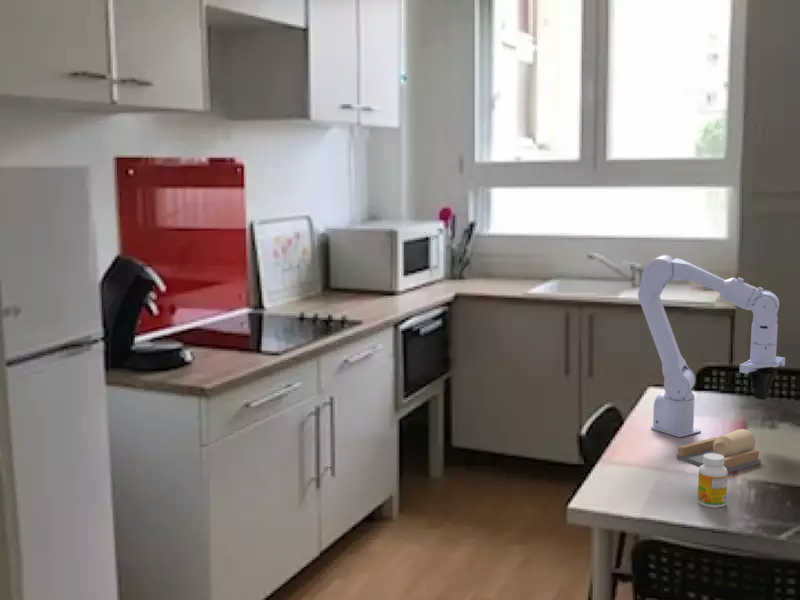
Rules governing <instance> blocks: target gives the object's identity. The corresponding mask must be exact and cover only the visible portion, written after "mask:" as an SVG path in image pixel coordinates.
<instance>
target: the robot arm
mask: <svg viewBox="0 0 800 600" xmlns="http://www.w3.org/2000/svg"><path fill="white" fill-rule="evenodd" d="M671 280H673V282H678V281H684V280H685V281H687V280H688V281H690V282H693V283H696V284H698V285H700V286H703V287H706V288H708V289H710V290H713V291H716V292H718V293H719V295H720V297H721V299H722V300H723V301H726V302H728V303H731V304H733V305H735V306H737V307H739V308H741V309H743V310H746V311H751V313H752V314H753V315H752V323H751V332H750V333H751V334H750V336H751V337H750V354H749V359H748V360H747V361H745V362H743V363H740V364H739V373H742V374H746V375H748V377H749V379H750V381H751V383H752V384H751V385H752V388H753V391H754V396H755V399H758V400H762V401H764V400H766V399H767V398H768V395H769V393H770V392H769V391H770V389H771V386H772V384H773V382H774V380H775V379H776V377H777V375H778V374H779V370H778V369H775V368H777V367H778V368H779V367H785V365H786V357H783V356H777V346H778V345H777V343H778V327H779V326H778V325H779V324H778V320H779V319H778V312H779V307H780V300H779V298H778V296H777V295H776V294H775V293H773V292H772V291H771V290H764V288H763V287H761V286H758V287H757V286H754V285H751V284H749V283H747V282H744V280H745V279H744V278H742V277H737V278H736V277H731V278H728V279H724V278H722V277H719V276H718V275H716V274H713V273H712V272H710V271H708V270H705V269H703V268H701V267H699V266H697V265H694V264H693V263H691V262H688V261H686V260H684V259H680V258H678V257H676V258H674V257H673V256H671V255H669V254H661V255H659V256H657V257H656V258H653V259H652V260H651V261H649V262H648V263H647V265H646V266H645V268H644V269H643V271H642V272H641V280H640V285H639V289H638V292H637V297H638V300H639V303H640V306H641V309H642V313H643V316H644V318H645V321H646V323H647V325H648V329H649V330H650V334H651V337H652V340H653V343H654V346H655V347H656V350H657V353H658V356H659V359H660V361H661V368H662V375H663V378H664V379H663V380H664V381H663V390H664V392H661V393H659V394H658V395H657V396H656V397H655V400H654V401H653V417H652V418H653V421H652V424H653V425H652V426H650V429H652V430H655V431H658V432H661V433H665V434H668V435H671V436H675V437H677V438H683V437H687V436H690V435H694V434H698V433H701V431H702V430H701V429H700V428H699V429H698V428H695V427H694V421H695V420H694V418H695V417H694V416H695V397H696V396H695V394H694V393H693V391H692V388H693V387H694V386H695V384H696V375H695V373H694V372H693V370H692V369H690V368H689V366H688V364H687V362H686V360H685V359H684V357H683V356H682V354H681V352H680V349H679V346H678V343H677V340H676V337H675V336H674V332H673V329H672V326H671V323H670V320H669V318H668V315H667V313H666V310H665V307H664V304H663V301H662V299H661V294H662V293H663V291H664V290H665V287H666V285H667V284H668V283H669V282H670V281H671Z"/></svg>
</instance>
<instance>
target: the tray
mask: <svg viewBox="0 0 800 600" xmlns="http://www.w3.org/2000/svg"><path fill="white" fill-rule="evenodd" d="M716 438H717V437H710V438H707V439H703V440H700V441H696V442H692V443H688V444H685V445H680V446H678V454H676V459H678V458H679V459H678V460H681V459H682V460H681V461H684V460H686V461H685V462H687V461H688V462H687V463H690V462H691V463H690V464H693V465H696V464H697V465H696V466H699V467H700V466H701V465H703V464H704V463H703V455H704V454H707V453H714V450H713V442H714V440H715V439H716ZM759 455H760V450H758V449H755V448H754V449H753V450H750V451H746V452H743V453H739V454H736V455H732V456H729V457H725V458H724V465H723V466H724V467H725V468H726V469H727V474H729V473H732V472H735V471H739V470H743V469H745V468H749V467H753V466H755V465H759V464H761V459H759V457H760V456H759ZM752 465H753V466H752Z"/></svg>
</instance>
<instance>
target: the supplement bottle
mask: <svg viewBox="0 0 800 600" xmlns="http://www.w3.org/2000/svg"><path fill="white" fill-rule="evenodd" d="M703 463H704V464H703V465H701V466H699V467H698V481H697V482H698V484H697V486H698V487H697V502H698V503H699V504H700V505H701V506H703V507H706V508H712V509H713V508H722V507H725V506H726V505H727V504H726V503H727V494H728V491H727V489H728V473H727V469H726V468H725V467H724V466H723V465H724V456H723V455H720V454H716V453H707V454H704V455H703Z"/></svg>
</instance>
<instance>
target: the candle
mask: <svg viewBox="0 0 800 600" xmlns="http://www.w3.org/2000/svg"><path fill="white" fill-rule="evenodd" d="M715 438H716V439H715V440H714V442H713V450H714V453H716V454H720V455H723V456H724V458H725V457H729V456H732V455H736V454H739V453H743V452H746V451H750V450H753V449H755V446H756V439H755V437H754V435H753V434H752V432H751V431H750V430H748V429H746V428H745V429H744V428H740V429H737V430H736V429H735V430H734V431H730V432H727V433H725V434H722V435H720V436H717V437H715Z"/></svg>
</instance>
